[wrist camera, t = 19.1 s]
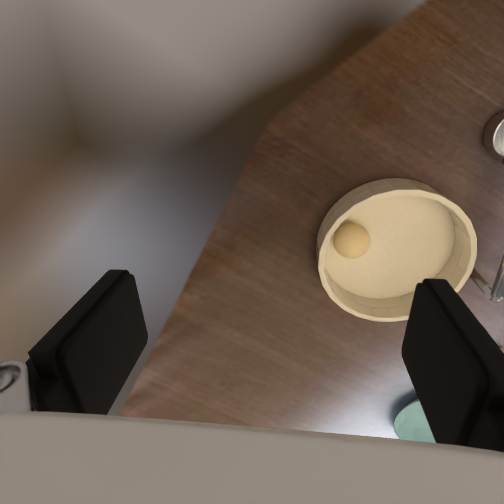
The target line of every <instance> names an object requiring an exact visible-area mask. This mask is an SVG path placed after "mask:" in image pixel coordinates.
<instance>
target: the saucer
mask: <svg viewBox="0 0 504 504" xmlns="http://www.w3.org/2000/svg"><path fill="white" fill-rule="evenodd" d="M394 430H395V433H396V435H397V436H398V437H399V438H400V439H401V440H411V441H421V442H430V443H436V442H435V439H434V437H433V434H432V432H431V429H430V427H429V424H428V422H427V419H426V416H425V414H424V411H423V409H422V406H421V404H420V401H419V399H417V400H415V401H413V402H411V403H409V404H408V405H406V406H405V407H404V408H403V409H402V410H401V411H400V412H399V414H398V415H397V416H396V418H395V421H394Z"/></svg>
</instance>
